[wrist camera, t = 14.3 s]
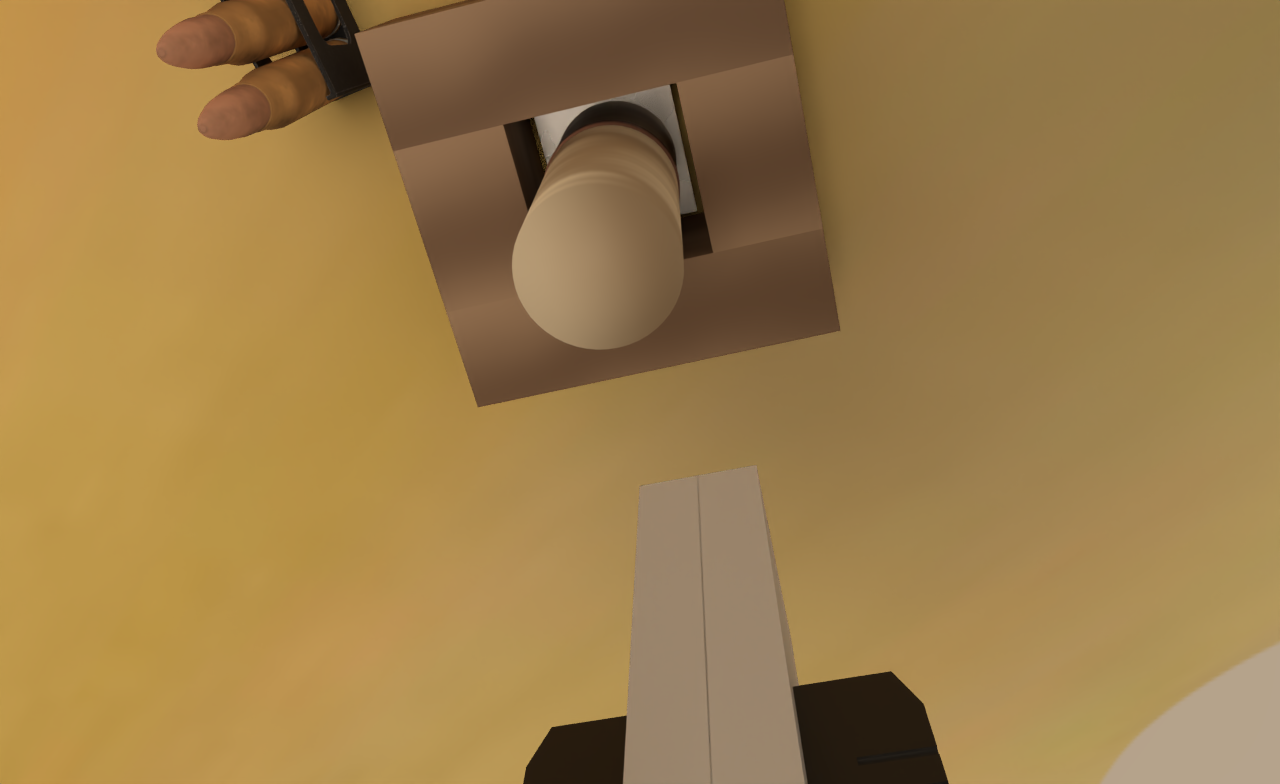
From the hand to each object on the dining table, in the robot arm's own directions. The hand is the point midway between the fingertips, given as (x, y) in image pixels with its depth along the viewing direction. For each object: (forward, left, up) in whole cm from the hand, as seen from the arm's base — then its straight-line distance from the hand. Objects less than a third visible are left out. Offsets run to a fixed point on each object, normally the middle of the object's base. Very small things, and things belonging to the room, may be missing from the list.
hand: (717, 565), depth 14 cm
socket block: (-1, -2, -25) cm, 25 cm away
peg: (-1, -2, -24) cm, 24 cm away
